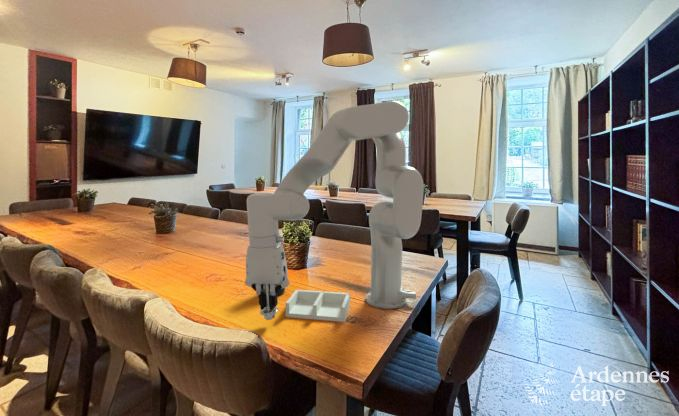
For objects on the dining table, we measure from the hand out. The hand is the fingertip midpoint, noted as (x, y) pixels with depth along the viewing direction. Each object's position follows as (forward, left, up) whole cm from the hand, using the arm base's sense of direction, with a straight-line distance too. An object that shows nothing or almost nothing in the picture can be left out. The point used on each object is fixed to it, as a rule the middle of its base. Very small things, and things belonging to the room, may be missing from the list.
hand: (268, 307), depth 89 cm
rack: (-11, -11, -5) cm, 16 cm away
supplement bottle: (+7, -22, -6) cm, 23 cm away
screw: (0, 0, -3) cm, 3 cm away
